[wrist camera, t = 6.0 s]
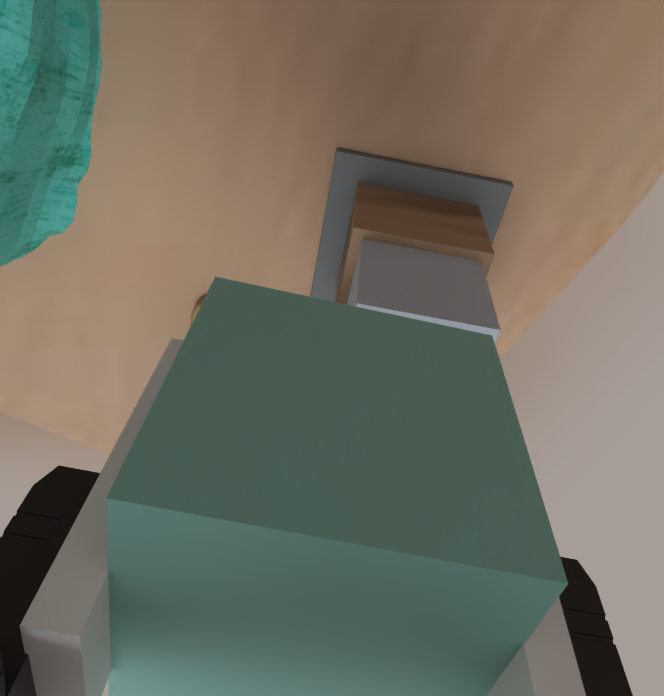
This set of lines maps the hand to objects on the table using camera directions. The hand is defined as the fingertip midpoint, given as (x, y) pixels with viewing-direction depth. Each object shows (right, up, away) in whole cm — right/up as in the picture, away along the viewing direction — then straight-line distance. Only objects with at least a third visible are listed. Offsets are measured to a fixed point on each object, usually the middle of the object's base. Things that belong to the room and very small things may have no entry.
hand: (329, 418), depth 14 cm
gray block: (+4, +4, +17) cm, 18 cm away
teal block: (0, 0, 0) cm, 1 cm away
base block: (+4, +8, +22) cm, 24 cm away
